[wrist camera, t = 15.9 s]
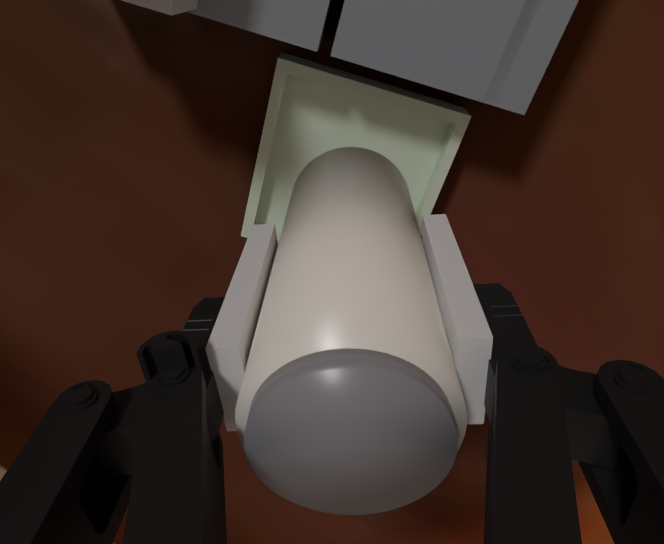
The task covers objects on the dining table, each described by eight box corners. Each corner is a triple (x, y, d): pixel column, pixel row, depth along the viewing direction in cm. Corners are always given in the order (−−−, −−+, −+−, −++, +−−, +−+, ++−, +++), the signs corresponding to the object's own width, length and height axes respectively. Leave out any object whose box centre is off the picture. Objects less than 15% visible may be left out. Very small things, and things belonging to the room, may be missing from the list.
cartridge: (284, 150, 20) (206, 362, 9) (410, 143, 20) (482, 351, 9) (297, 259, 23) (249, 523, 12) (410, 254, 22) (465, 521, 12)
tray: (246, 222, 26) (240, 236, 25) (282, 52, 22) (277, 57, 21) (401, 262, 27) (403, 277, 26) (464, 107, 23) (471, 116, 22)
